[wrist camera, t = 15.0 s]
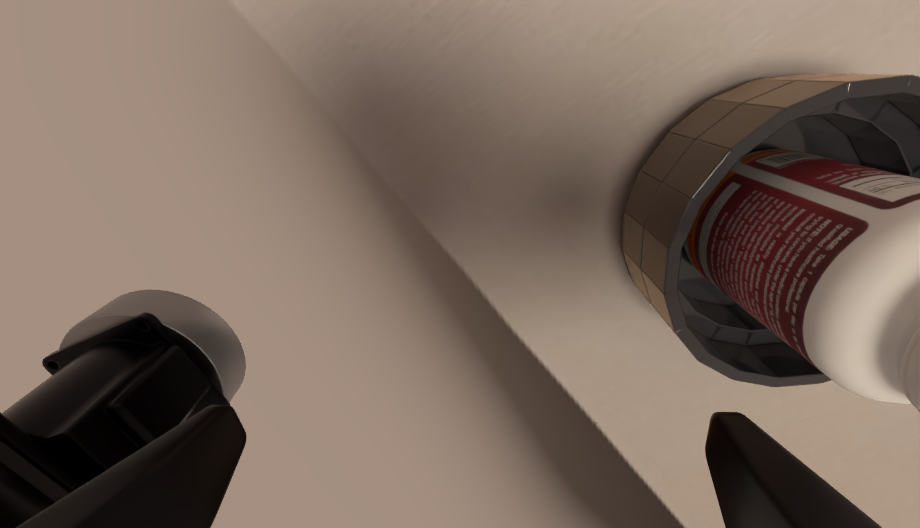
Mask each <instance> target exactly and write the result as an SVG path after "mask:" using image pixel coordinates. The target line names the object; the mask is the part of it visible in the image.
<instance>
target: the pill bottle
mask: <svg viewBox="0 0 920 528" xmlns="http://www.w3.org/2000/svg"><path fill="white" fill-rule="evenodd" d="M684 248H685V251H686V254H687V256H688V258H689V260H690V262H691V263H692V265H693V266H694V267H695V268H696V269H697V270H698V271H699V273H701V274H702V275H703V276H704V277H705V278H706V279H707V280H709V281H710V282H711V283H712V284H713V285H715V286H716V287H717V288H718V289H720V290H721V291H722V292H723V293H724V294H725V295H727V296H728V297H729V298H731V299H732V300H733V301H734V302H736V303H737V304H738V305H739V306H741V307H742V308H743V309H744V310H745V311H747V312H748V313H749V314H750V315H752V316H753V317H754V318H755V319H757V320H758V321H759V322H760V323H761V324H763V325H764V326H765V327H766V328H768V329H769V330H770V331H771V332H773V333H774V334H775V335H776V336H778V337H779V338H780V339H781V340H783V341H784V342H785V343H786V344H788V345H789V346H790V347H791V348H792V349H794V350H795V351H796V352H797V353H798V354H800V355H801V356H802V357H804V358H805V359H806V360H807V361H808V362H809V363H811V364H812V365H813V366H814V367H816V368H817V369H818V370H820V371H821V372H822V373H824V374H825V375H826V376H828V377H829V378H830V379H831V380H833V381H834V382H835V383H837V384H838V385H840V386H841V387H843V388H845V389H847V390H849V391H851V392H853V393H855V394H858V395H860V396H863V397H865V398H869V399H873V400H877V401H882V402H889V403H901V404H913V405H914V406H915V407H916V408H917V409H918V410H919V411H920V179H918V178H914V177H909V176H904V175H900V174H896V173H892V172H888V171H883V170H879V169H874V168H870V167H865V166H861V165H856V164H852V163H848V162H843V161H839V160H834V159H830V158H826V157H821V156H817V155H812V154H808V153H804V152H799V151H793V150H785V149H769V150H761V151H756V152H752V153H749V154H747V155H744V156H743V157H742V158H740V159H739V160H738V162H737V163H736V164H735V165H734V166H733V168H732V169H731V170H730V171H729V172H728V174H727V175H726V176H725V177H724V178H723V180H722V181H721V182H720V183H719V184H718V186H717V187H716V188H715V189H714V190H713V192H712V193H711V194H710V195H709V196H708V198H707V199H706V200H705V201H704V202H703V204H702V206H701V208H700V211H699V213H698V215H697V217H696V219H695V222H694V224H693V226H692V228H691V230H690V232H689V235H688V237H687V239H686V241H685V243H684Z"/></svg>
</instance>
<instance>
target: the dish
mask: <svg viewBox="0 0 920 528" xmlns="http://www.w3.org/2000/svg"><path fill="white" fill-rule="evenodd" d="M769 149H785V150H793V151H799V152H804V153H808V154H812V155H817V156H821V157H826V158H830V159H834V160H839V161H843V162H848V163H852V164H856V165H861V166H865V167H870V168H874V169H879V170H883V171H888V172H892V173H896V174H900V175H904V176H909V177H914V178H918V179H920V77H919V76H915V75H878V74H798V75H789V76H780V77H771V78H762V79H758V80H753V81H751V82H748V83H746V84H744V85H741V86H739V87H737V88H734V89H732V90H730V91H727V92H725V93H723V94H720V95H718V96H716V97H713V98H711V99H710V100H707V101H706V102H705V103H704V104H702V105H701V106H700V107H699V108H697V109H696V110H695V111H694V112H692V113H691V114H690V115H689V116H687V117H686V118H685V119H684V120H682V121H681V122H680V123H679V124H677V125H676V126H675V127H673V128H672V129H671V130H670V131H669V133H668V134H667V135H666V136H665V137H664V139H663V140H662V141H661V143H660V144H659V146H658V147H657V148H656V150H655V151H654V152H653V154H652V155H651V156H650V158H649V159H648V160H647V162H646V163H645V164H644V166H643V167H642V168H641V171H639V173H638V176H637V179H636V181H635V184H634V187H633V189H632V192H631V194H630V197H629V200H628V202H627V205H626V207H625V211H624V225H623V244H622V248H623V252H624V256H625V259H626V262H627V265H628V268H629V271H630V275H631V278H632V281H633V282H634V284H635V285H636V286H637V288H638V289H639V290H640V291H641V292H642V294H643V295H644V296H645V297H646V298H647V300H648V301H649V302H650V303H651V305H652V306H653V307H654V308H655V309H656V311H657V312H658V313H659V314H660V316H661V317H662V318H663V319H664V320H665V322H666V323H667V324H668V325H669V326H670V328H671V329H672V330H673V331H674V333H675V334H676V335H677V336H678V337H679V339H680V340H681V341H682V342H683V343H684V345H685V346H686V347H687V348H688V350H689V351H690V352H691V353H692V354H693V356H694V357H695V358H696V359H697V360H698V361H699V362H701V363H703V364H704V365H706V366H708V367H710V368H712V369H714V370H715V371H717V372H719V373H721V374H723V375H725V376H726V377H728V378H730V379H733V380H736V381H742V382H747V383H753V384H759V385H764V386H770V387H784V386H796V385H809V384H819V383H824V382H827V381H830V380H831V379H830V378H829V377H828V376H826V375H825V374H824V373H822V372H821V371H820V370H818V369H817V368H816V367H814V366H813V365H812V364H811V363H809V362H808V361H807V360H806V359H805V358H804V357H802V356H801V355H800V354H798V353H797V352H796V351H795V350H794V349H792V348H791V347H790V346H789V345H788V344H786V343H785V342H784V341H783V340H781V339H780V338H779V337H778V336H776V335H775V334H774V333H773V332H771V331H770V330H769V329H768V328H766V327H765V326H764V325H763V324H761V323H760V322H759V321H758V320H757V319H755V318H754V317H753V316H752V315H750V314H749V313H748V312H747V311H745V310H744V309H743V308H742V307H741V306H739V305H738V304H737V303H736V302H734V301H733V300H732V299H731V298H729V297H728V296H727V295H725V294H724V293H723V292H722V291H721V290H720V289H718V288H717V287H716V286H715V285H713V284H712V283H711V282H710V281H709V280H707V279H706V278H705V277H704V276H703V275H702V274H701V273H699V271H698V270H697V269H696V268H695V267H694V266H693V265H692V263H691V262H690V260H689V258H688V256H687V254H686V251H685V248H684V243H685V241H686V239H687V237H688V235H689V232H690V230H691V228H692V226H693V224H694V222H695V219H696V217H697V215H698V213H699V211H700V208H701V206H702V204H703V202H704V201H705V200H706V199H707V198H708V196H709V195H710V194H711V193H712V192H713V190H714V189H715V188H716V187H717V186H718V184H719V183H720V182H721V181H722V180H723V178H724V177H725V176H726V175H727V174H728V172H729V171H730V170H731V169H732V168H733V166H734V165H735V164H736V163H737V162H738V160H739V159H740V158H742V157H743V156H744V155H747V154H749V153H752V152H756V151H761V150H769Z"/></svg>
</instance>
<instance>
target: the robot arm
mask: <svg viewBox="0 0 920 528" xmlns="http://www.w3.org/2000/svg"><path fill="white" fill-rule="evenodd" d="M144 322H146V323H147V324H148V325H146V324H145V323H144ZM42 363H43V366H44V367H45V369H46V370H47V371H48V372H50V374H52V375H53V376H51V377H50V378H49V379H47V380H46V381H45V382H43V383H42V384H40V385H39V386H38V387H36V388H35V389H34V390H33V391H31V392H30V393H28V394H27V395H26V396H24V397H23V398H22V399H20V400H19V401H18V402H16V403H15V404H14V405H12V406H11V407H10V408H8V409H7V410H6V411H4V412H3V413H2V414H1V413H0V528H210V527H211V525H212V523H213V521H214V519H215V516H216V514H217V512H218V510H219V507H220V505H221V502H222V500H223V498H224V495H225V493H226V490H227V488H228V485H229V483H230V481H231V478H232V476H233V473H234V471H235V468H236V466H237V464H238V461H239V459H240V456H241V454H242V451H243V449H244V446H245V443H246V432H245V430H244V428H243V426H242V424H241V422H240V420H239V418H238V416H237V414H236V412H235V410H234V409H233V408H232V407H231V406H230V403H229V401H228V400H227V399H226V398H225V397H224V395H223V394H222V393H221V392H220V391H219V390H218V388H217V387H216V386H215V385H214V384H213V383H212V381H211V380H210V379H209V378H208V377H207V376H206V374H205V373H204V372H203V371H202V370H201V368H200V367H199V366H198V365H197V364H196V363H195V361H194V360H193V359H192V358H191V357H190V356H189V354H188V353H187V352H186V351H185V350H184V349H183V347H182V346H181V345H180V344H179V343H178V342H177V340H176V339H175V338H174V337H173V336H172V334H171V333H170V332H169V331H168V330H167V329H166V327H165V326H164V325H163V324H162V323H161V322H160V320H159V319H158V318H157V317H156V316H155V315H153V314H151V313H147V312H144V313H140V314H138V315H136V316H134V317H131V318H129V319H127V320H125V321H122V322H120V323H118V324H116V325H114V326H111V327H109V328H107V329H105V330H102V331H100V332H98V333H96V334H93V335H91V336H89V337H87V338H84V339H82V340H80V341H78V342H75V343H73V344H71V345H69V346H67V347H64V348H62V349H60V350H58V351H55V352H53V353H51V354H50V355H49V356H47V357H46V358H44V359H43V362H42ZM705 452H706V459H707V463H708V466H709V470H710V473H711V477H712V481H713V484H714V488H715V491H716V495H717V498H718V502H719V505H720V509H721V513H722V516H723V520H724V523H725V527H726V528H882V527H881V526H879V525H878V524H877V523H876V522H875V521H873V520H872V519H871V518H870V517H868V516H867V515H866V514H865V513H864V512H862V511H861V510H860V509H859V508H857V507H856V506H855V505H854V504H853V503H851V502H850V501H849V500H848V499H846V498H845V497H844V496H843V495H842V494H840V493H839V492H838V491H837V490H835V489H834V488H833V487H832V486H831V485H829V484H828V483H827V482H826V481H824V480H823V479H822V478H821V477H819V476H818V475H817V474H816V473H815V472H813V471H812V470H811V469H810V468H808V467H807V466H806V465H805V464H804V463H802V462H801V461H800V460H799V459H797V458H796V457H795V456H794V455H793V454H791V453H790V452H789V451H788V450H786V449H785V448H784V447H783V446H782V445H780V444H779V443H778V442H777V441H775V440H774V439H773V438H772V437H771V436H769V435H768V434H767V433H766V432H764V431H763V430H762V429H761V428H760V427H758V426H757V425H756V424H755V423H753V422H752V421H751V420H750V419H748V418H747V417H746V416H745V415H743V414H741V413H737V412H716V413H714V414H713V415H712V416H711V419H710V424H709V429H708V435H707V440H706V445H705Z"/></svg>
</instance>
